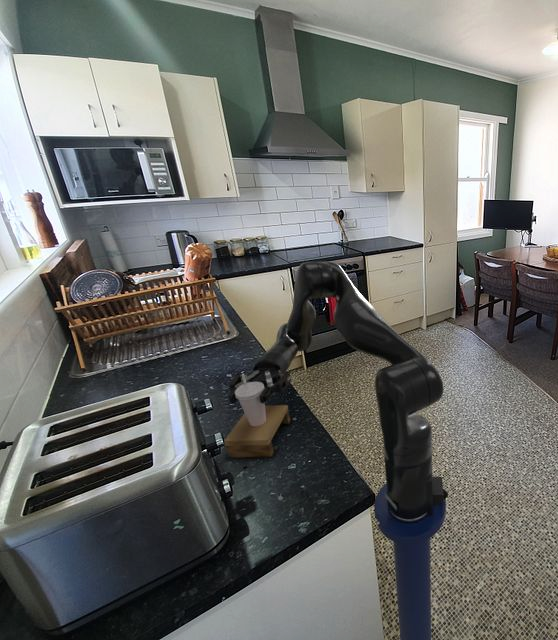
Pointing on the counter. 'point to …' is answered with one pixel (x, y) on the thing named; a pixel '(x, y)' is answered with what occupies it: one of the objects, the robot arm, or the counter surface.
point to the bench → (256, 434)
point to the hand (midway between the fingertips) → (246, 400)
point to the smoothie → (252, 401)
